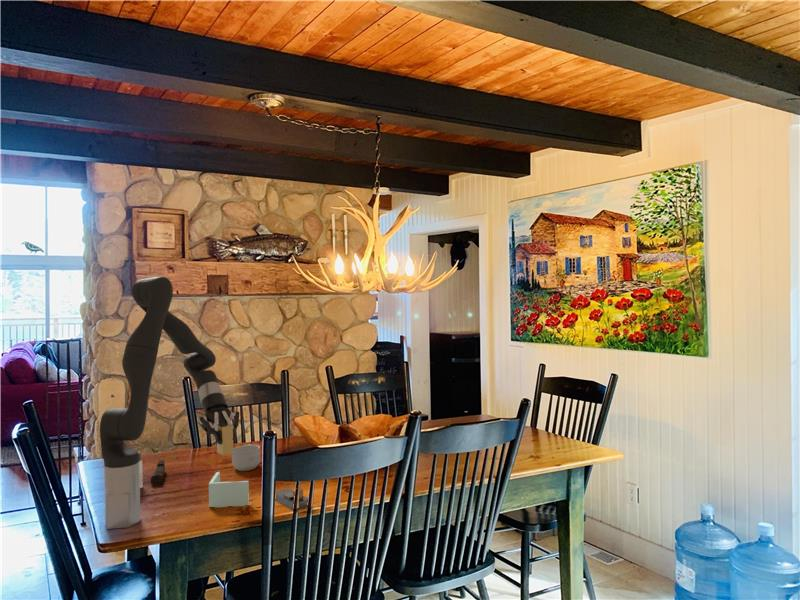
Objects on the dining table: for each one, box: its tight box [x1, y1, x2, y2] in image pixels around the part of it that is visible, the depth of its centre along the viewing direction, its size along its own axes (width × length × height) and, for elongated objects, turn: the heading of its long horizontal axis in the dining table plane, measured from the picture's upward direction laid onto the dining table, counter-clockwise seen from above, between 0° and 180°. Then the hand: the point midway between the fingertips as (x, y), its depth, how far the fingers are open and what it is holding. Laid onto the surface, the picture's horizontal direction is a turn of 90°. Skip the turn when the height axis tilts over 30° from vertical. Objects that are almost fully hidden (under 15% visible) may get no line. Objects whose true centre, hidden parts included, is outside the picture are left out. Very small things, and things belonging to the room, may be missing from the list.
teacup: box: [230, 443, 261, 472], centre depth 221 cm, size 14×11×8 cm
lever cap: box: [216, 423, 234, 456], centre depth 186 cm, size 5×4×9 cm
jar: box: [137, 450, 143, 489], centre depth 199 cm, size 9×8×12 cm
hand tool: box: [150, 459, 166, 486], centre depth 210 cm, size 19×4×5 cm, turn 15°
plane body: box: [275, 487, 308, 511], centre depth 183 cm, size 14×6×5 cm, turn 39°
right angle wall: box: [208, 471, 250, 508], centre depth 186 cm, size 12×12×8 cm
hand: (227, 441), depth 184 cm, fingers closed on lever cap, 3 cm apart
